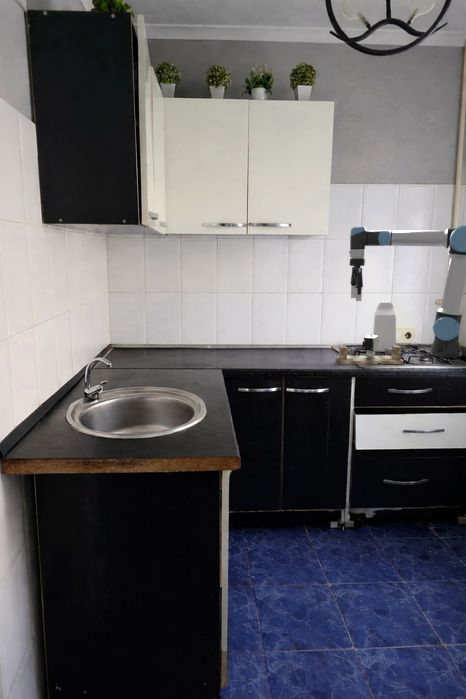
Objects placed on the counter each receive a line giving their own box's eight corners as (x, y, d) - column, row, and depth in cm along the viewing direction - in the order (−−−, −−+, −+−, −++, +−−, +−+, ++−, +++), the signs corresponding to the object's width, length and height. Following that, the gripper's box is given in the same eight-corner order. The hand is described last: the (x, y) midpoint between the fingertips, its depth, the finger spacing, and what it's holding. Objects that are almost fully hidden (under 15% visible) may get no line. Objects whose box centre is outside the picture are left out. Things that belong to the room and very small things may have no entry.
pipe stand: (396, 358, 259) (397, 343, 257) (403, 363, 247) (404, 348, 245) (336, 358, 260) (337, 344, 258) (340, 364, 248) (341, 349, 247)
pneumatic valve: (378, 356, 257) (379, 332, 254) (371, 361, 247) (372, 336, 244) (367, 355, 259) (368, 332, 257) (360, 359, 250) (361, 335, 247)
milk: (372, 351, 277) (374, 303, 272) (371, 347, 288) (373, 300, 283) (396, 351, 274) (398, 303, 269) (394, 347, 285) (396, 301, 280)
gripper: (345, 257, 273) (344, 297, 278) (354, 258, 249) (353, 302, 253) (359, 257, 273) (358, 297, 277) (370, 258, 249) (368, 302, 253)
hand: (356, 299), depth 265 cm, fingers open, 13 cm apart
